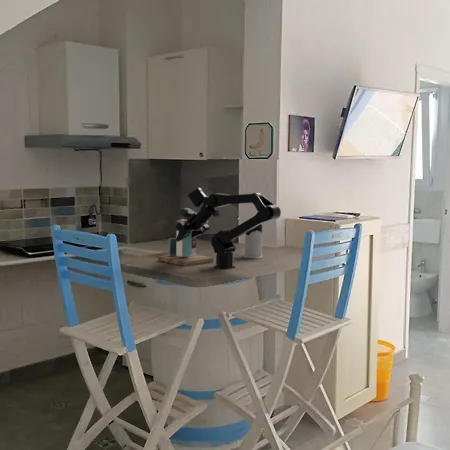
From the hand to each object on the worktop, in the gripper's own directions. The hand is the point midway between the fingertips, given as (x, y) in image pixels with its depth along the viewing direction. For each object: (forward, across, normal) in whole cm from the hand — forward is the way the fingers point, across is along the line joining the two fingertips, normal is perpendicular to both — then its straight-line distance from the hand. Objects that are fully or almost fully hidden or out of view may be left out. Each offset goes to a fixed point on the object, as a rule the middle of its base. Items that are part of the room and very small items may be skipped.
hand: (181, 240), depth 257 cm
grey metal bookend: (+9, -4, +2) cm, 10 cm away
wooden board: (+6, -2, +7) cm, 10 cm away
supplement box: (+15, -21, -2) cm, 26 cm away
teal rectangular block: (+4, 0, +6) cm, 7 cm away
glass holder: (-4, -34, +18) cm, 38 cm away
